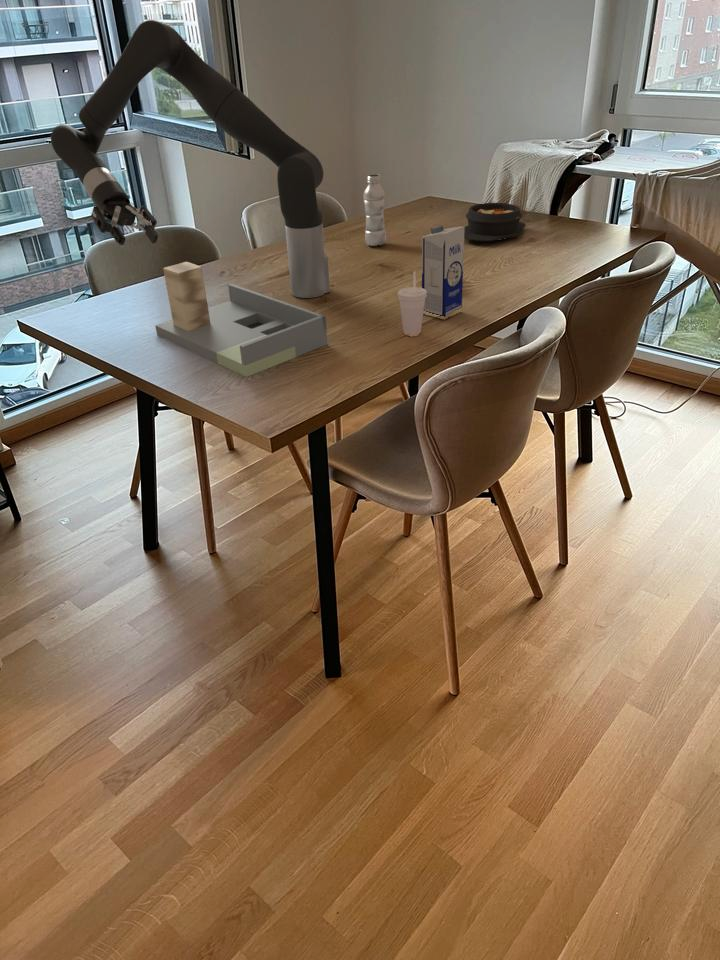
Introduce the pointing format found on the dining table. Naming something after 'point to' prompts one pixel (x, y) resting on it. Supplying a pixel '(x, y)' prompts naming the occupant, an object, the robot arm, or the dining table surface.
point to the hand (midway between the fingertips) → (139, 241)
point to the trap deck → (251, 332)
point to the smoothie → (412, 307)
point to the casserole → (493, 222)
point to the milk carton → (443, 269)
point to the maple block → (187, 295)
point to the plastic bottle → (374, 211)
